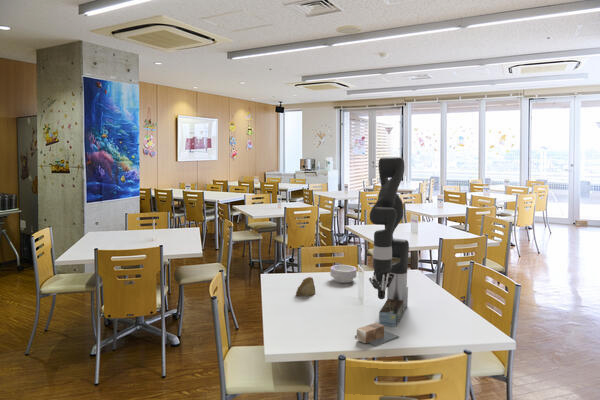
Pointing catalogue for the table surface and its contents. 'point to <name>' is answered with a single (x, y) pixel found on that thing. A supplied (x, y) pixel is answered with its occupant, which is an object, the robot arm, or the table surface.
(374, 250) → the robot arm
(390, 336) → the slate mat
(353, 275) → the paper bowls
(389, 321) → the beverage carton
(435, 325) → the table surface
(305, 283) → the rock
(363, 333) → the walnut block
